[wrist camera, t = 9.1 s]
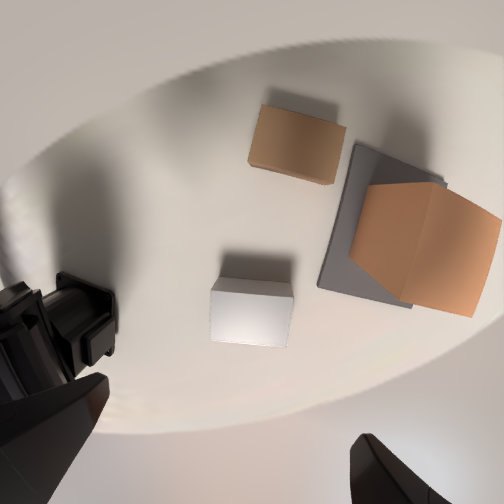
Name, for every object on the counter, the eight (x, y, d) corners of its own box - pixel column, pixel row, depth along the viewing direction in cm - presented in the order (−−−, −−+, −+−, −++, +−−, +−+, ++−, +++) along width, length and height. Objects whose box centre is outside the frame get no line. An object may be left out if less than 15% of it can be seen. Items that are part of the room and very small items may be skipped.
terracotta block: (348, 257, 18) (398, 300, 10) (368, 185, 17) (433, 181, 9) (407, 274, 18) (471, 317, 10) (426, 208, 17) (502, 220, 9)
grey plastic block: (218, 320, 20) (209, 339, 17) (219, 275, 19) (210, 290, 16) (284, 326, 20) (286, 347, 17) (290, 281, 19) (293, 297, 16)
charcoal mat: (316, 284, 19) (318, 287, 18) (353, 145, 17) (356, 144, 16) (408, 306, 19) (411, 308, 18) (443, 183, 17) (447, 183, 16)
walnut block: (251, 166, 18) (247, 160, 15) (263, 118, 17) (262, 104, 14) (323, 185, 18) (333, 183, 15) (334, 137, 17) (346, 127, 14)
